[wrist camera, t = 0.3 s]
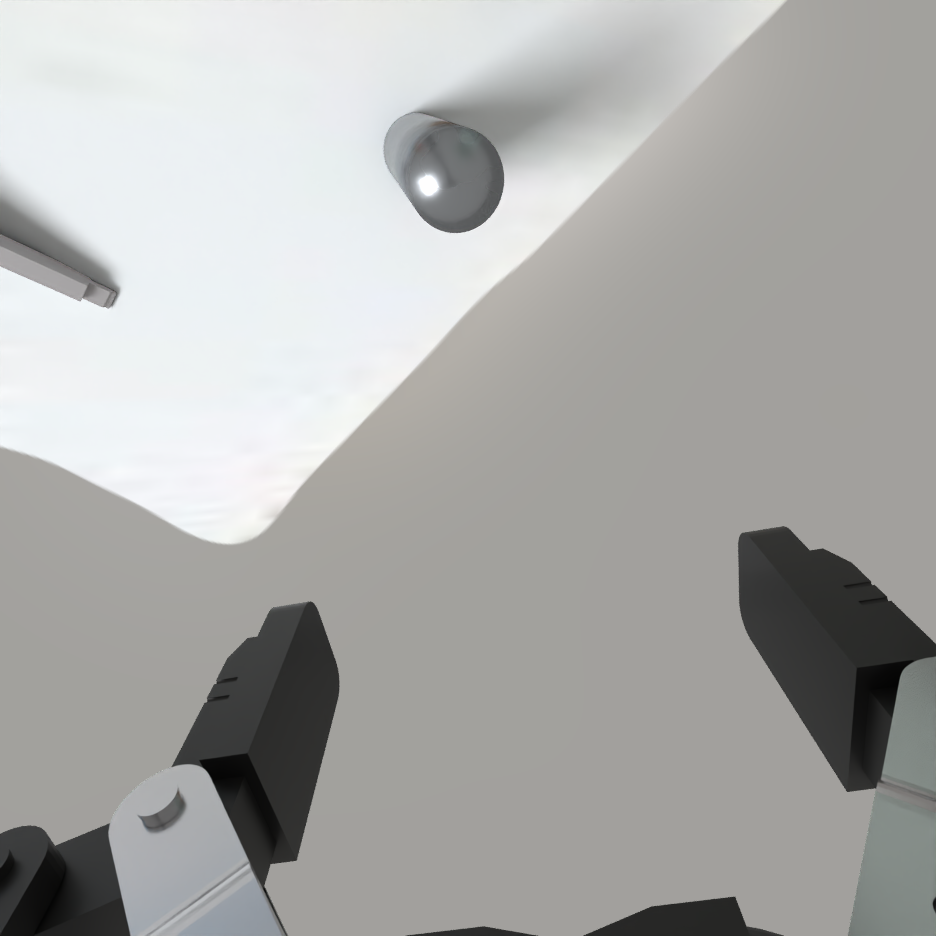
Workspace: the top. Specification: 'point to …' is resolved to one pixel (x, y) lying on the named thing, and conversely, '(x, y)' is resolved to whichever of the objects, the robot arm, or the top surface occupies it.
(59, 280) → the caliper
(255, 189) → the top surface
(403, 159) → the steel peg
